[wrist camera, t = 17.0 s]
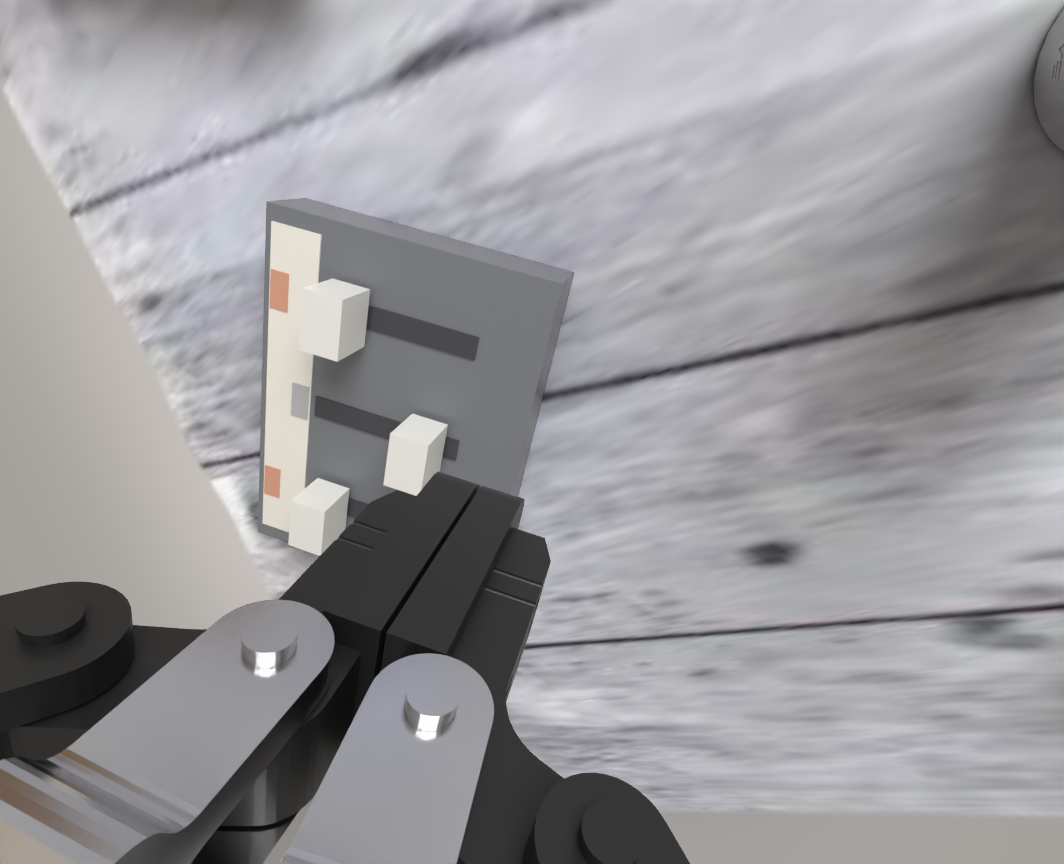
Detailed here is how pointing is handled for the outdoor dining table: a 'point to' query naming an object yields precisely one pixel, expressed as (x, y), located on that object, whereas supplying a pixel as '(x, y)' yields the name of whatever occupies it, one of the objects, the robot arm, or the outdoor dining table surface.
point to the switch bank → (399, 355)
